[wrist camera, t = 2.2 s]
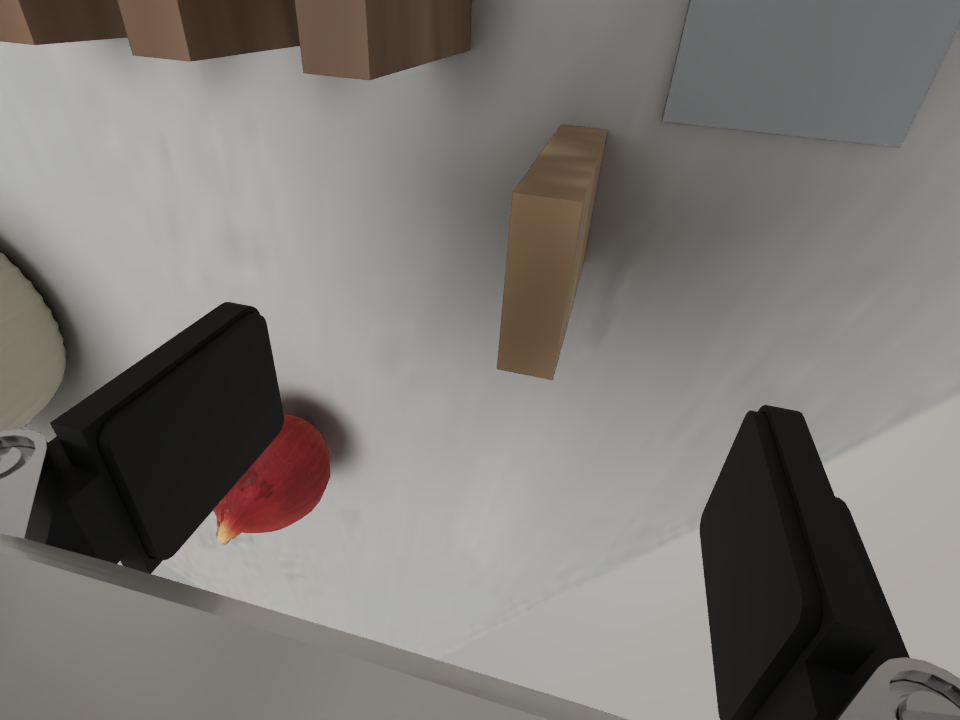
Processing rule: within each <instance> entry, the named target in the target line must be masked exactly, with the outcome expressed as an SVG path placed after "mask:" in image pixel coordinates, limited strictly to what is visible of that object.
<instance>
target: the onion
mask: <svg viewBox="0 0 960 720" xmlns="http://www.w3.org/2000/svg"><path fill="white" fill-rule="evenodd" d="M329 478H330V463H329V451H328V449H327V446H326V444H325V442H324V440H323V437H322V435H321V433H320V432H319V431H318V430H317V429H316V428H315V427H314V426H313V424H311V423H309V422H308V421H306V420H304V419H302V418H300V417H296V416H292V415H289V414H284V423H283V427H282V429H281V431H280V433H279V434H278V435H277V437H276V438H275V439H274V440H273V441H272V442H271V444H270V445H269V446H268V447H267V448H266V449H265V450H264V452H263V453H262V454H261V455H260V456H259V457H258V459H257V460H256V461H255V462H254V463H253V464H252V465H251V467H250V468H249V469H248V470H247V471H246V472H245V474H244V475H243V476H242V477H241V478H240V479H239V481H238V482H237V483H236V484H235V485H234V486H233V487H232V489H231V490H230V491H229V492H228V493H227V494H226V496H225V497H224V498H223V499H222V500H221V501H220V502H219V504H218V505H217V506H216V507H215V508H214V509H213V510H214V512H215V514H216V516H217V527H218V528H217V534H216V535H217V540H218V541H219V542H220V543H221V544H223V545H226V544H227V543H228V542H229V541H230V540H231V539H234V538H235V537H236V536H237V535H239V534H240V533H242V532H244V533H264V532H272V531H276V530H280V529H282V528H285V527H287V526H289V525H291V524H293V523H294V522H296V521H298V520H300V519H301V518H303V517H304V516H305V515H307V514H308V513H310V512H311V511H312V510H313V508H314V507H315V506H316V505H317V504H318V503H319V501H320V499H321V497H322V495H323V493H324V491H325V489H326V486H327V484H328V481H329Z"/></svg>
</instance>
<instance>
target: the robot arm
mask: <svg viewBox="0 0 960 720" xmlns="http://www.w3.org/2000/svg"><path fill="white" fill-rule="evenodd" d="M283 423H284V414H283V409H282V403H281V398H280V393H279V387H278V382H277V377H276V371H275V366H274V361H273V356H272V350H271V345H270V340H269V334H268V329H267V324H266V320H265V319H264V317H263V316H261V315H260V313H259V312H258V310H257V309H256V308H254V307H252V306H247V305H241V304H236V303H231V302H225V303H223V304H221V305H219V306H218V307H217V308H215V309H214V310H212V311H211V312H209V313H208V314H207V315H205V316H204V317H202V318H201V319H199V320H198V321H196V322H195V323H194V324H192V325H191V326H189V327H188V328H186V329H185V330H183V331H182V332H181V333H179V334H178V335H176V336H175V337H173V338H172V339H170V340H169V341H168V342H166V343H165V344H163V345H162V346H160V347H159V348H157V349H156V350H155V351H153V352H152V353H150V354H149V355H147V356H146V357H144V358H143V359H142V360H140V361H139V362H137V363H136V364H134V365H133V366H131V367H130V368H129V369H127V370H126V371H124V372H123V373H121V374H120V375H119V376H117V377H116V378H114V379H113V380H111V381H110V382H108V383H107V384H106V385H104V386H103V387H101V388H100V389H98V390H97V391H95V392H94V393H93V394H91V395H90V396H88V397H87V398H85V399H84V400H82V401H81V402H80V403H78V404H77V405H75V406H74V407H72V408H71V409H69V410H68V411H67V412H65V413H64V414H62V415H61V416H59V417H58V418H56V419H55V420H54V421H52V422H51V423H50V424H51V426H52V428H53V430H54V431H55V433H56V435H57V437H56V438H54V439H53V440H51V441H50V442H49V443H48V442H47V440H46V439H45V438H44V437H43V436H42V435H41V434H40V433H38V432H35V431H32V430H22V429H15V430H6V431H0V720H628V719H625V718H622V717H619V716H616V715H613V714H610V713H607V712H604V711H600V710H597V709H594V708H591V707H588V706H585V705H582V704H579V703H575V702H572V701H569V700H566V699H562V698H559V697H556V696H552V695H549V694H546V693H543V692H539V691H536V690H533V689H529V688H526V687H523V686H520V685H517V684H513V683H510V682H507V681H504V680H500V679H497V678H494V677H491V676H487V675H484V674H481V673H478V672H474V671H471V670H468V669H465V668H461V667H458V666H455V665H451V664H448V663H445V662H442V661H439V660H435V659H432V658H429V657H425V656H422V655H419V654H416V653H412V652H409V651H406V650H402V649H399V648H396V647H393V646H389V645H386V644H383V643H379V642H376V641H373V640H369V639H366V638H363V637H359V636H356V635H353V634H349V633H346V632H343V631H340V630H336V629H333V628H330V627H326V626H323V625H320V624H316V623H313V622H310V621H306V620H303V619H300V618H296V617H293V616H290V615H286V614H283V613H280V612H276V611H273V610H270V609H266V608H263V607H260V606H256V605H253V604H250V603H246V602H243V601H240V600H236V599H233V598H230V597H226V596H223V595H219V594H216V593H213V592H209V591H206V590H203V589H199V588H195V587H192V586H189V585H186V584H182V583H179V582H175V581H172V580H169V579H165V578H162V577H158V576H155V575H152V574H151V573H152V572H153V571H154V569H155V568H156V567H157V566H158V565H159V564H160V563H161V562H162V560H166V559H169V558H170V557H172V556H173V555H174V554H175V553H176V552H177V551H178V550H179V549H180V548H181V546H182V545H183V544H184V543H185V542H186V541H187V539H188V538H189V537H190V536H191V535H192V534H193V533H194V531H195V530H196V529H197V528H198V527H199V526H200V524H201V523H202V522H203V521H204V520H205V519H206V517H207V516H208V515H209V514H210V513H211V512H212V511H213V509H214V508H215V507H216V506H217V505H218V504H219V502H220V501H221V500H222V499H223V498H224V497H225V496H226V494H227V493H228V492H229V491H230V490H231V489H232V487H233V486H234V485H235V484H236V483H237V482H238V481H239V479H240V478H241V477H242V476H243V475H244V474H245V472H246V471H247V470H248V469H249V468H250V467H251V465H252V464H253V463H254V462H255V461H256V460H257V459H258V457H259V456H260V455H261V454H262V453H263V452H264V450H265V449H266V448H267V447H268V446H269V445H270V444H271V442H272V441H273V440H274V439H275V438H276V437H277V435H278V434H279V433H280V431H281V429H282V427H283ZM700 538H701V548H702V558H703V567H704V577H705V587H706V596H707V605H708V614H709V615H708V616H709V625H710V633H711V644H712V653H713V664H714V673H715V682H716V692H717V702H718V711H719V717H720V720H960V678H958V677H956V676H955V675H953V674H952V673H950V672H949V671H947V670H945V669H942V668H940V667H938V666H936V665H933V664H931V663H929V662H926V661H923V660H917V659H912V658H910V657H909V655H908V653H907V650H906V648H905V645H904V643H903V640H902V638H901V635H900V633H899V630H898V628H897V626H896V623H895V621H894V618H893V616H892V614H891V611H890V609H889V606H888V603H887V601H886V599H885V596H884V594H883V591H882V589H881V587H880V584H879V581H878V579H877V577H876V574H875V572H874V569H873V567H872V564H871V562H870V559H869V557H868V555H867V552H866V550H865V547H864V545H863V542H862V540H861V537H860V535H859V533H858V530H857V528H856V525H855V523H854V520H853V518H852V515H851V513H850V510H849V509H848V507H847V505H846V503H845V502H844V501H842V500H841V499H840V498H837V497H835V496H834V493H833V491H832V488H831V485H830V483H829V481H828V478H827V475H826V473H825V470H824V468H823V465H822V462H821V460H820V457H819V455H818V452H817V450H816V447H815V444H814V442H813V439H812V437H811V434H810V432H809V429H808V426H807V424H806V421H805V419H804V416H803V415H802V413H801V412H799V411H794V410H789V409H784V408H778V407H773V406H768V405H764V406H762V407H761V408H760V409H759V411H758V412H755V411H749V412H748V413H747V414H746V416H745V418H744V420H743V422H742V424H741V427H740V429H739V431H738V434H737V436H736V438H735V440H734V443H733V445H732V447H731V450H730V452H729V454H728V456H727V459H726V461H725V463H724V466H723V468H722V470H721V472H720V475H719V477H718V479H717V482H716V484H715V486H714V488H713V491H712V493H711V495H710V498H709V500H708V502H707V504H706V507H705V509H704V511H703V514H702V517H701V523H700ZM119 561H121V563H122V565H123V566H121V565H118V564H117V563H118V562H119Z"/></svg>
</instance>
